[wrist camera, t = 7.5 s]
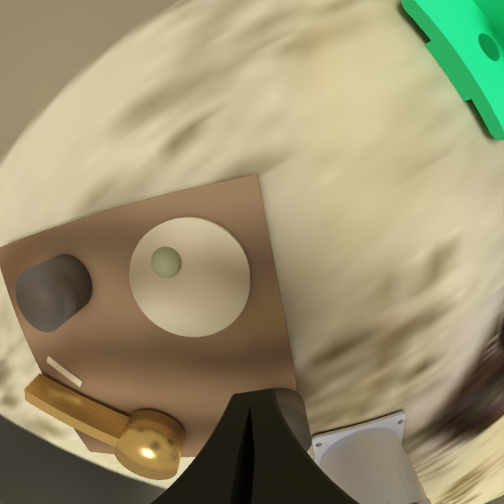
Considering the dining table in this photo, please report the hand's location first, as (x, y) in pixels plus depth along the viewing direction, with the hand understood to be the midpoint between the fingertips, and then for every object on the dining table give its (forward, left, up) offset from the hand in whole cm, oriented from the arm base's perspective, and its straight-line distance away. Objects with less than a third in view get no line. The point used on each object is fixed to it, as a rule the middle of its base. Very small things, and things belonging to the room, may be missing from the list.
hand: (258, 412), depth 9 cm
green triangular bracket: (+15, -19, -10) cm, 26 cm away
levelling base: (-2, +8, -9) cm, 13 cm away
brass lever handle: (-6, +12, -8) cm, 16 cm away
